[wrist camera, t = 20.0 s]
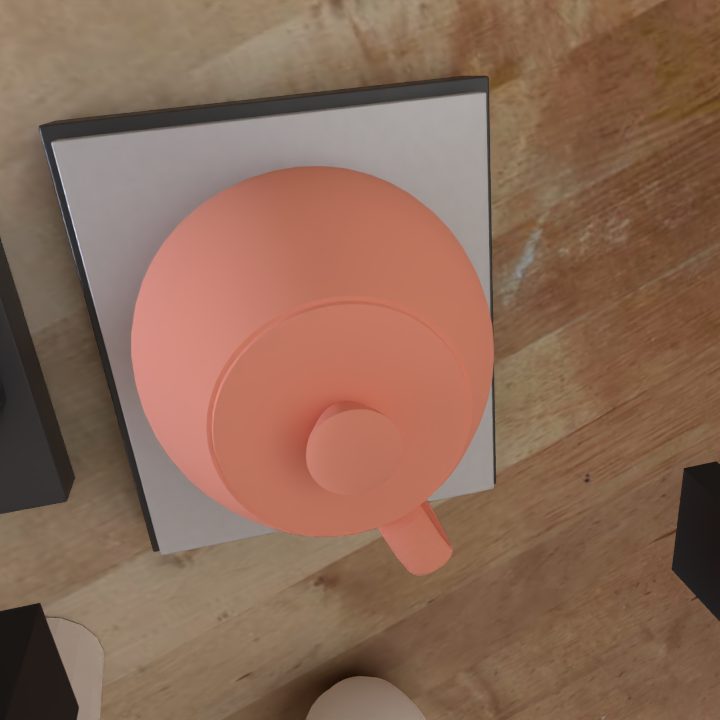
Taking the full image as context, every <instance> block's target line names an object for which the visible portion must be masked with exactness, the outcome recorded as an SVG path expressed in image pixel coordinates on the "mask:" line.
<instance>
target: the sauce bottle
mask: <svg viewBox="0 0 720 720" xmlns="http://www.w3.org/2000/svg"><path fill="white" fill-rule="evenodd" d="M306 720H426V718H425V717H424V715H423V714H422V713H421V711H420V710H419V709H418V708H417V706H416V705H415V704H414V703H413V702H412V701H411V700H410V699H409V698H408V697H407V696H406V695H405V694H404V693H403V692H402V691H401V690H399V689H398V688H397V687H395V686H394V685H393V684H391V683H389V682H388V681H386V680H383V679H381V678H376V677H366V676H355V677H351V678H347V679H344V680H342V681H340V682H338V683H337V684H335V685H334V686H332V687H331V688H330V689H329V690H327V691H326V692H324V693H323V694H322V695H321V696H320V697H319V698H317V700H316V701H315V702H314V704H313V705H312V707H311V709H310V711H309V713H308V715H307V717H306Z"/></svg>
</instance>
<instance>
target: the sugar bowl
mask: <svg viewBox="0 0 720 720" xmlns="http://www.w3.org/2000/svg"><path fill="white" fill-rule="evenodd" d="M131 358H132V365H133V371H134V378H135V383H136V388H137V391H138V394H139V397H140V401H141V404H142V407H143V410H144V412H145V415H146V417H147V419H148V421H149V423H150V425H151V428H152V430H153V432H154V434H155V436H156V438H157V440H158V441H159V443H160V444H161V446H162V447H163V449H164V450H165V452H166V453H167V455H168V456H169V457H170V459H171V460H172V461H173V462H174V463H175V465H176V466H177V467H178V468H179V469H180V470H181V471H182V473H183V474H184V475H185V476H186V477H187V478H188V479H189V480H190V482H192V483H193V484H194V485H195V486H196V487H197V488H199V489H200V490H201V491H202V492H203V493H204V494H206V495H207V496H209V497H210V498H212V499H213V500H215V501H216V502H218V503H219V504H221V505H222V506H224V507H225V508H227V509H229V510H230V511H232V512H234V513H236V514H238V515H240V516H242V517H244V518H246V519H248V520H251V521H253V522H255V523H258V524H261V525H264V526H266V527H269V528H272V529H275V530H278V531H281V532H286V533H290V534H295V535H302V536H313V537H338V536H346V535H354V534H358V533H362V532H366V531H370V530H373V529H376V528H378V529H379V531H380V533H381V535H382V536H383V538H384V539H385V541H386V542H387V544H388V545H389V547H390V548H391V549H392V551H393V552H394V554H395V555H396V557H397V558H398V559H399V560H400V562H401V563H402V564H403V565H404V566H405V568H406V569H407V570H408V571H409V572H411V573H412V574H414V575H425V574H429V573H431V572H434V571H435V570H437V569H439V568H440V567H442V566H443V565H444V564H445V563H446V562H447V561H448V560H449V558H450V557H451V555H452V547H451V544H450V542H449V540H448V537H447V535H446V534H445V532H444V530H443V528H442V526H441V524H440V522H439V520H438V518H437V517H436V515H435V513H434V511H433V509H432V507H431V506H430V504H429V502H428V500H427V499H428V498H429V497H430V496H431V495H432V494H433V493H434V492H435V491H436V490H437V489H438V488H439V487H440V486H441V485H442V484H444V482H445V481H446V480H447V479H448V478H449V476H450V475H451V474H452V473H453V471H454V470H455V469H456V467H457V466H458V464H459V463H460V461H461V460H462V458H463V456H464V455H465V453H466V451H467V449H468V447H469V445H470V443H471V441H472V439H473V437H474V435H475V433H476V431H477V429H478V427H479V424H480V422H481V419H482V416H483V413H484V410H485V407H486V404H487V400H488V397H489V392H490V387H491V382H492V377H493V364H494V344H493V328H492V322H491V317H490V312H489V307H488V304H487V300H486V297H485V294H484V292H483V289H482V286H481V283H480V280H479V278H478V275H477V273H476V271H475V269H474V267H473V265H472V263H471V261H470V260H469V258H468V256H467V254H466V252H465V250H464V249H463V247H462V245H461V244H460V243H459V241H458V240H457V239H456V237H455V236H454V234H453V233H452V232H451V230H450V229H449V228H448V227H447V226H446V225H445V224H444V223H443V222H442V221H441V219H440V218H439V217H438V216H437V215H436V214H435V213H434V212H433V211H431V210H430V209H429V208H428V207H426V206H425V205H424V204H422V203H421V202H420V201H419V200H417V199H416V198H415V197H413V196H412V195H411V194H409V193H408V192H406V191H404V190H402V189H401V188H399V187H397V186H395V185H393V184H392V183H390V182H387V181H385V180H382V179H380V178H377V177H375V176H372V175H370V174H366V173H362V172H358V171H354V170H350V169H346V168H337V167H327V166H305V167H293V168H287V169H281V170H275V171H271V172H267V173H264V174H261V175H258V176H255V177H251V178H248V179H246V180H244V181H242V182H239V183H237V184H235V185H233V186H231V187H229V188H227V189H225V190H223V191H221V192H220V193H218V194H217V195H215V196H213V197H212V198H210V199H209V200H207V201H206V202H204V203H203V204H201V205H200V206H199V207H198V208H196V209H195V210H194V211H193V212H192V213H191V214H190V215H188V216H187V217H186V218H185V219H184V220H183V221H182V222H181V223H180V224H179V225H178V226H177V227H176V228H175V230H174V231H173V232H172V233H171V234H170V235H169V236H168V238H167V239H166V240H165V241H164V243H163V244H162V246H161V248H160V249H159V251H158V252H157V254H156V255H155V257H154V258H153V260H152V262H151V264H150V266H149V268H148V270H147V273H146V275H145V277H144V279H143V281H142V285H141V288H140V291H139V295H138V298H137V301H136V305H135V310H134V317H133V324H132V331H131Z"/></svg>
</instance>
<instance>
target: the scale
mask: <svg viewBox="0 0 720 720" xmlns="http://www.w3.org/2000/svg"><path fill="white" fill-rule="evenodd" d="M39 131H40V135H41V139H42V142H43V146H44V150H45V153H46V157H47V161H48V164H49V168H50V172H51V176H52V179H53V183H54V187H55V190H56V194H57V198H58V201H59V205H60V209H61V212H62V216H63V220H64V223H65V227H66V231H67V235H68V238H69V242H70V246H71V249H72V253H73V257H74V260H75V264H76V268H77V271H78V275H79V279H80V283H81V286H82V290H83V294H84V297H85V301H86V305H87V308H88V312H89V316H90V319H91V323H92V327H93V330H94V334H95V338H96V342H97V345H98V349H99V353H100V356H101V360H102V364H103V367H104V371H105V375H106V378H107V382H108V386H109V389H110V393H111V397H112V401H113V404H114V408H115V412H116V415H117V419H118V423H119V426H120V430H121V434H122V437H123V441H124V445H125V448H126V452H127V456H128V460H129V463H130V467H131V471H132V474H133V478H134V482H135V485H136V489H137V493H138V496H139V500H140V504H141V507H142V511H143V515H144V519H145V522H146V526H147V530H148V533H149V537H150V541H151V544H152V548H153V551H154V552H156V551H160V554H161V555H166V554H171V553H176V552H181V551H186V550H191V549H196V548H201V547H206V546H211V545H216V544H221V543H226V542H231V541H236V540H241V539H245V538H250V537H255V536H260V535H265V534H270V533H275V532H280V531H278V530H275V529H272V528H269V527H266V526H264V525H261V524H258V523H255V522H253V521H251V520H248V519H246V518H244V517H242V516H240V515H238V514H236V513H234V512H232V511H230V510H229V509H227V508H225V507H224V506H222V505H221V504H219V503H218V502H216V501H215V500H213V499H212V498H210V497H209V496H207V495H206V494H204V493H203V492H202V491H201V490H200V489H199V488H197V487H196V486H195V485H194V484H193V483H192V482H190V480H189V479H188V478H187V477H186V476H185V475H184V474H183V473H182V471H181V470H180V469H179V468H178V467H177V466H176V465H175V463H174V462H173V461H172V460H171V459H170V457H169V456H168V455H167V453H166V452H165V450H164V449H163V447H162V446H161V444H160V443H159V441H158V440H157V438H156V436H155V434H154V432H153V430H152V428H151V425H150V423H149V421H148V419H147V417H146V415H145V412H144V410H143V407H142V404H141V401H140V397H139V394H138V391H137V388H136V383H135V378H134V371H133V365H132V358H131V331H132V324H133V317H134V310H135V305H136V301H137V298H138V295H139V291H140V288H141V285H142V281H143V279H144V277H145V275H146V273H147V270H148V268H149V266H150V264H151V262H152V260H153V258H154V257H155V255H156V254H157V252H158V251H159V249H160V248H161V246H162V244H163V243H164V241H165V240H166V239H167V238H168V236H169V235H170V234H171V233H172V232H173V231H174V230H175V228H176V227H177V226H178V225H179V224H180V223H181V222H182V221H183V220H184V219H185V218H186V217H187V216H188V215H190V214H191V213H192V212H193V211H194V210H195V209H196V208H198V207H199V206H200V205H201V204H203V203H204V202H206V201H207V200H209V199H210V198H212V197H213V196H215V195H217V194H218V193H220V192H221V191H223V190H225V189H227V188H229V187H231V186H233V185H235V184H237V183H239V182H242V181H244V180H246V179H248V178H251V177H255V176H258V175H261V174H264V173H267V172H271V171H275V170H281V169H287V168H293V167H305V166H327V167H337V168H346V169H350V170H354V171H358V172H362V173H366V174H370V175H372V176H375V177H377V178H380V179H382V180H385V181H387V182H390V183H392V184H393V185H395V186H397V187H399V188H401V189H402V190H404V191H406V192H408V193H409V194H411V195H412V196H413V197H415V198H416V199H417V200H419V201H420V202H421V203H422V204H424V205H425V206H426V207H428V208H429V209H430V210H431V211H433V212H434V213H435V214H436V215H437V216H438V217H439V218H440V219H441V221H442V222H443V223H444V224H445V225H446V226H447V227H448V228H449V229H450V230H451V232H452V233H453V234H454V236H455V237H456V239H457V240H458V241H459V243H460V244H461V245H462V247H463V249H464V250H465V252H466V254H467V256H468V258H469V260H470V261H471V263H472V265H473V267H474V269H475V271H476V273H477V275H478V278H479V280H480V283H481V286H482V289H483V292H484V294H485V297H486V300H487V304H488V307H489V312H490V317H491V322H492V328H493V290H492V235H491V179H490V124H489V78H488V76H459V77H450V78H441V79H431V80H422V81H413V82H404V83H395V84H386V85H377V86H368V87H359V88H350V89H341V90H332V91H322V92H313V93H304V94H295V95H286V96H277V97H268V98H259V99H250V100H241V101H232V102H223V103H214V104H204V105H195V106H186V107H177V108H168V109H159V110H150V111H141V112H132V113H123V114H114V115H105V116H96V117H86V118H77V119H68V120H59V121H53V122H50V123H46V124H43V125H40V126H39ZM495 483H496V456H495V401H494V364H493V377H492V382H491V387H490V392H489V397H488V400H487V404H486V407H485V410H484V413H483V416H482V419H481V422H480V424H479V427H478V429H477V431H476V433H475V435H474V437H473V439H472V441H471V443H470V445H469V447H468V449H467V451H466V453H465V455H464V456H463V458H462V460H461V461H460V463H459V464H458V466H457V467H456V469H455V470H454V471H453V473H452V474H451V475H450V476H449V478H448V479H447V480H446V481H445V482H444V484H442V485H441V486H440V487H439V488H438V489H437V490H436V491H435V492H434V493H433V494H432V495H431V496H430V497H429V498H428V499H427V500H428V502H430V501H435V500H440V499H445V498H450V497H455V496H460V495H465V494H470V493H475V492H480V491H485V490H490V489H494V484H495Z"/></svg>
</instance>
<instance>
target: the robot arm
mask: <svg viewBox="0 0 720 720" xmlns="http://www.w3.org/2000/svg"><path fill="white" fill-rule="evenodd" d="M672 570H673V571H674V572H675V574H676V575H677V576H678V577H679V578H680V579H681V580H682V581H683V582H684V583H685V584H686V585H687V587H688V588H689V589H690V590H691V591H692V592H693V593H694V594H695V595H696V596H697V597H698V598H699V600H700V601H701V602H702V603H703V604H704V605H705V606H706V607H707V608H708V609H709V610H710V611H711V613H712V614H713V615H714V616H715V617H716V618H717V619H718V620H719V621H720V464H719V463H718V462H712V463H707V464H702V465H697V466H693V467H688V468H684V473H683V481H682V489H681V497H680V506H679V514H678V522H677V530H676V539H675V547H674V555H673V563H672ZM78 711H79V705H78V703H77V700H76V697H75V695H74V692H73V689H72V687H71V684H70V681H69V679H68V676H67V673H66V671H65V668H64V665H63V663H62V660H61V657H60V655H59V652H58V649H57V647H56V644H55V641H54V639H53V636H52V633H51V631H50V628H49V625H48V623H47V620H46V617H45V615H44V612H43V609H42V607H41V604H40V603H37V604H33V605H28V606H23V607H18V608H13V609H9V610H4V611H0V720H77V716H78Z"/></svg>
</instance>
